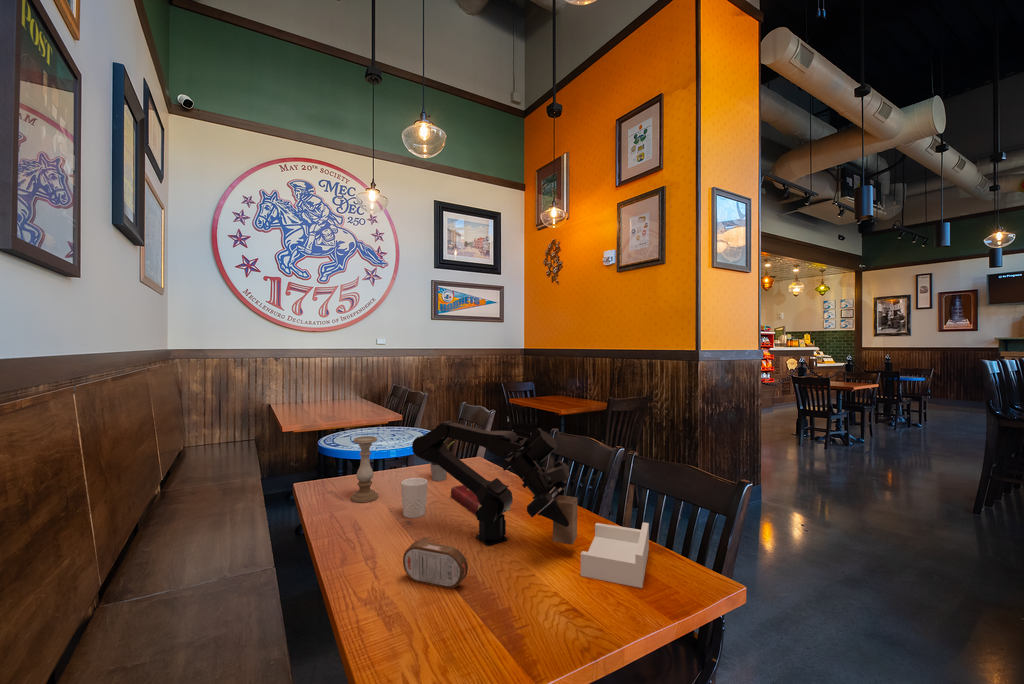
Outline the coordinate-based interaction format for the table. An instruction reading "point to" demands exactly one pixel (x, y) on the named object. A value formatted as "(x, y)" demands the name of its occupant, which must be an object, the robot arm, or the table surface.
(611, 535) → the toy armchair
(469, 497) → the hardcover book
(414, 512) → the white cup
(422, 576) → the tin
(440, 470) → the house plant
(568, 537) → the walnut block
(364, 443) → the candle holder
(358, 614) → the table surface
